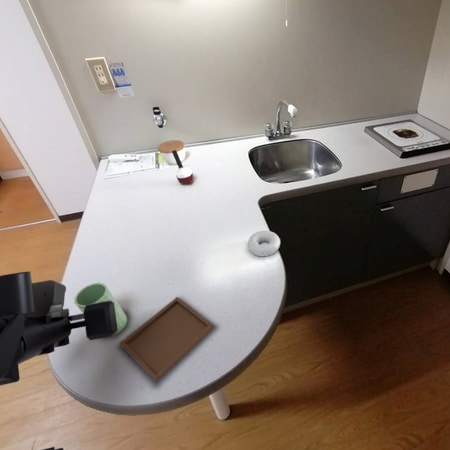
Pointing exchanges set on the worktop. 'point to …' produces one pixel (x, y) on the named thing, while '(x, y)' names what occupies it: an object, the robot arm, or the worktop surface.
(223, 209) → the worktop surface
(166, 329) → the serving tray
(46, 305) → the robot arm
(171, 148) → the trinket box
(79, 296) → the green cup
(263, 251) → the donut
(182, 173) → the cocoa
